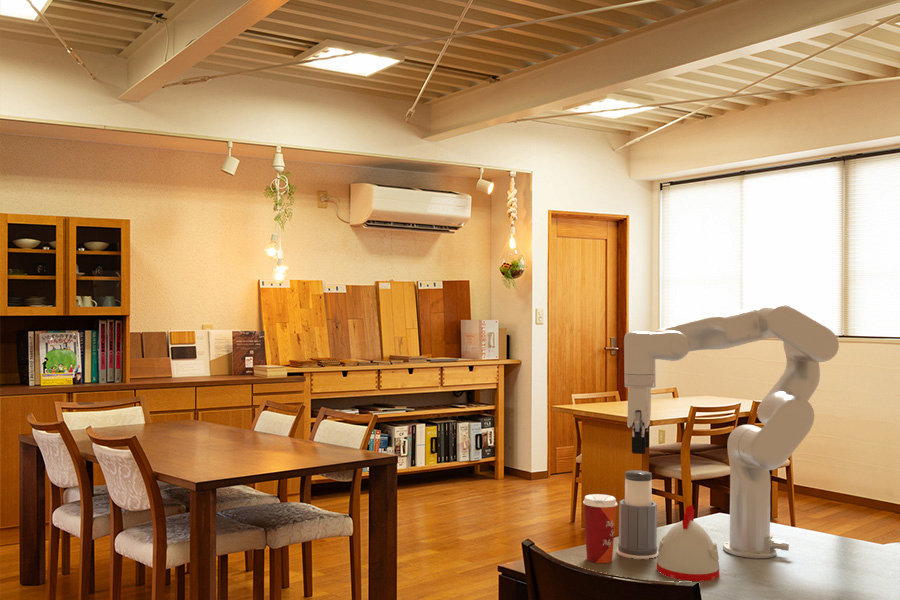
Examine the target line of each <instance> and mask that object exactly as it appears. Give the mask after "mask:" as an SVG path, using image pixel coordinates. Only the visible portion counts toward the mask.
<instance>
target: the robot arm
mask: <svg viewBox="0 0 900 600" xmlns="http://www.w3.org/2000/svg"><path fill="white" fill-rule="evenodd" d="M768 339H776V340H777V339H778V340H780V341H781V342H782V343H783V344H782V345H783V350H784V352H785V353H784V354H785V357H786V366H785V369H784V372H783V373H782V375H781V376H780V378H779V379H778V380H777V381H776V383H775V384H774V385H773V387H771V389H770V390H769V392H768V393H767V394H766V395H765V397H763V398H762V400H761V402H759V405H758V406H757V410H756V415H757V418H758V420H759V421H760V423H761V424H762V425H763V427H760V426H756V425H754V424H742V425H739V426H736V427H735V428H734V429H733V430H732V431H731V432H730V434H729V436H728V438H727V445H726V446H727V448H726V449H727V455H728V456H727V457H728V462H729V473H730V474H729V475H730V476H729V480H730V481H729V483H730V485H729V487H730V488H729V540H728V541H725V542H724V543H722V549H723V551H725V552H726V553H728V554H731V555H733V556H737V557H742V558H747V559H770V558H773V557H775V556H776V555H777V550H781V551H786V552H789V548H790V543H789V542H786V541H785V540H781V539H775V538H773V534H774V533H771V485H772V484H771V482H772V481H771V473H770V471H773V470H776V469H778V468H780V467H781V466H782V465H784V464H785V462H786V461H788V459H789V458H790V457H791V456H792V454H793V453H794V452H795V451H796V449H797V448H798V447H799V446H800V445H801V443H802V442H803V441H804V439H805V438H806V437H807V436H808V434H809V432H810V431H811V430H812V427H813V425H814V422H815V410H814V408H813V405H812V404H811V403H810V402H809V400H810V398H811V397H812V396H813V394H814V393H815V391H816V390H817V387H818V385H819V383H820V379H821V378H820V377H821V372H820V371H821V370H820V369H821V368H820V363H825V362H828V361H831V360H832V359H833V358H834V357H836V355H837V353H838V351H839V347H840V345H839V339H838V337H837V335H836V334H835V333H834V332H833V331H832V330H831V329H830V328H829V327H826V326H825V325H823V324H821V323H820V322H818V321H816V320H814V319H813V318H811V317H809V316H807V315H806V314H804V313H803V312H800V311H799V310H797V309H795V308H793V307H791V306H789V305H786V304H783V303H782V304H778V303H776V304H768V303H767V304H761V305H757V306H752V307H749V308H745V309H740V310H737V311H732V312H727V313H723V314H718V315H713V316H711V317H706V318H703V319H698V320H694V321H689V322H685V323H679V324H676V325H672V326H667V327H664V328H658V329H656V330H655V331H645V330H644V331H643V330H640V331H639V330H637V331H628V332H626V333H625V335H624V339H623V346H624V347H623V351H624V352H623V355H624V357H623V359H624V361H623V362H624V364H623V365H624V367H623V368H624V370H623V371H624V373H623V374H624V388H627V389H628V391H627V417H626V418H627V421H626V422H627V423H626V424H627V425H626V426H627V427H628V428H629V429H631V428H632V433H631V434H632V435H631V453H632V454H637V455H646V448H649V446H650V431H649V426H650V422H651V415H652V414H651V413H652V399H651V398H652V391H651V390H652V389H653V388H655V389H656V379H657V377H656V360H664V361H670V362H677V361H680V360H682V359H684V358H685V357H686V356H687V355H688V353H690V352H695V351H702V350H703V351H706V350H707V351H708V350H711V351H713V350H726V349H731V348H734V347H739V346H743V345H745V344H746V345H747V344H750V343H754V342H758V341H763V340H768Z"/></svg>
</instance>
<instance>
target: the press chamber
mask: <svg viewBox="0 0 900 600" xmlns="http://www.w3.org/2000/svg"><path fill="white" fill-rule="evenodd" d="M618 506H619V511H618V513H619V515H618V518H619V519H618V522H619V523H618V545H617V548H616V553H617V555H619V556H621V557H624V558H625V559H626V558H627V559H631V558H633V560H641V559H645V560H650V559H649V558H653V559H655V558H654V557H656V558H658V557H657V556H658V554H659V552H658V550H659V549H658V547H657V546H658V545H657V537H658V536H657V531H658V530H657V527H658V525H657V524H658V520H657V519H658V513H657V512H658V504H657V503H656V501H653V500H651V506H631V505H627V504H625V498H624V499H621V500H619V505H618Z"/></svg>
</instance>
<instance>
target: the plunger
mask: <svg viewBox="0 0 900 600" xmlns="http://www.w3.org/2000/svg"><path fill="white" fill-rule="evenodd" d="M624 473H625V474H624V499H625V504H627V505H631V506H651V501H652V491H653V490H652V487H653V486H652V483H653V482H652V481H653V479H652V477H653V474H652V472H649V471H648V470H647V471H645V470H637V469H636V470H635V469H634V470H633V469H631V470H626V471H625V472H624Z"/></svg>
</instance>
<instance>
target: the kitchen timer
mask: <svg viewBox="0 0 900 600" xmlns="http://www.w3.org/2000/svg"><path fill="white" fill-rule="evenodd" d="M695 511H696V510H695V509H694V505H690V504H689V505H687V506H686V507H685V513H684V514H683V519H682V520H681V521H679V522H677V523H675V524H674V525H673V526H671V528H670V529H669V530H668V531H667V533H666V534H665V535H663V537H662V538H661V540H660V541H659V547H658V549H657V550H658V557H656V570H657V569H658V570H657V572H658V571H659V572H661V573H662V574H664V575H663V576H665V575H666V576H665V577H667V576H668V577H667V578H670V577H671V578H670V579H674V578H675V580H678V579H680V581H684V580H689V581H688V582H707V581H708V582H709V581H713V580H716V579H717V578H719V577H720V560H719V559H720V558H719V557H720V556H719V552H718V547H717V542H715V543H714V542H713V540H712V539H711V537H710V535H709V534H708V532H707V531H706V529H704V527H702V526H701V525H700V524H699V523H698V522H695V521H694V519H695ZM659 572H658V573H659ZM661 573H660V574H661ZM662 574H661V575H662Z"/></svg>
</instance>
